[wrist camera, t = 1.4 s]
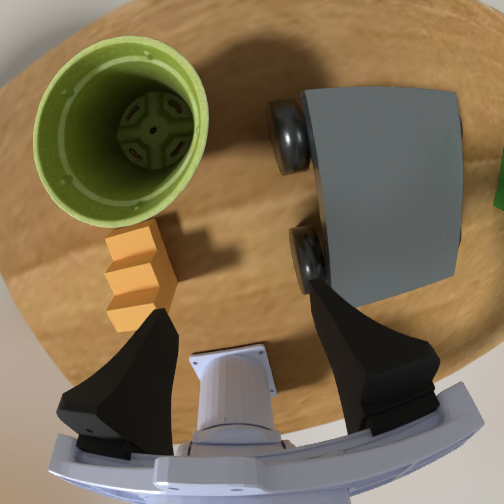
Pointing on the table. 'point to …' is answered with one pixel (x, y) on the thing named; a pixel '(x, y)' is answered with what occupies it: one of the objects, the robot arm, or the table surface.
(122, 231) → the orange stepped block
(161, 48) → the plant pot
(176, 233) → the table surface
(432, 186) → the trolley
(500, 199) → the hardback book
